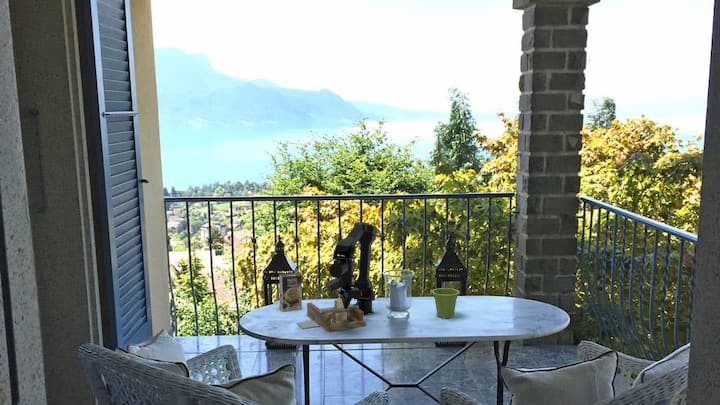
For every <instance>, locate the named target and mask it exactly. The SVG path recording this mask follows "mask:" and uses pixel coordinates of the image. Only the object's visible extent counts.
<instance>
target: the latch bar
mask: <svg viewBox="0 0 720 405" xmlns="http://www.w3.org/2000/svg"><path fill="white" fill-rule="evenodd" d="M333 305H334V306H330V307H321V308H320V309H319V312H320V313H322V314H323V313H330V312H337V311H344V310H350V309H357V308H359V306H358V305H357V304H356V303H350V305H349V306H348V308H347V309H344V306H343V302H342V299H341V298H338V299H334V304H333Z"/></svg>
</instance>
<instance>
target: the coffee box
mask: <svg viewBox="0 0 720 405" xmlns="http://www.w3.org/2000/svg"><path fill="white" fill-rule="evenodd" d="M302 284H303V283H302V275H301V274H300V273H299V272H293V273H279V309H280V310H281V312H292V311H300V310H303V309H302V308H303V304H302V303H303V302H302V300H303V299H302V297H303V296H302V292H303V290H302Z"/></svg>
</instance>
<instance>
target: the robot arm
mask: <svg viewBox="0 0 720 405" xmlns="http://www.w3.org/2000/svg"><path fill="white" fill-rule="evenodd" d="M377 235H378V229H377V228H376V227H375V226H374V225H371V224H369V223H366V222H365V221H364V222H361V221H356V222H355V223H354V225H353V227H352V228H351V230H350V231H349V233H348V234H347V235H346V237H345V238H341V239H340V240H339V241H338V242H337V243H336V245H335V248H334V251H333V254H332V260H333V263H332V264H331V265H330V266H329V269H328V273H329V274H330V276H331V277H333V278H332V279H330V280H328V281H327V282H325V283H324V284H325V288H326V290H327V291H328V292H329V293H335V292H336V293H337V294H338V295H339V296H340V299H342V302H343V306H344V309H347V308H348V306H349V304H351V301H352V300H356V302H355V304H357V305H358V306H359V308H358V309H360V310H361V311H363V312H364V316H365V315H372V314H374V313H375V312H374V311H373V301H375V300H376V293H375V290H374V288H373V283H372V280H371V279H370V271H371V270H370V269H371V256H372V246H373V244H374V243H375V241H376V238H377ZM358 242H359V244H360V254H359V267H358V268H359V269H358V277H357V279H356V280H354V282H353V278H355V274H354V273H353V260H354V257H355V255H356V251H357V248H356V245H357V244H358Z"/></svg>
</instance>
